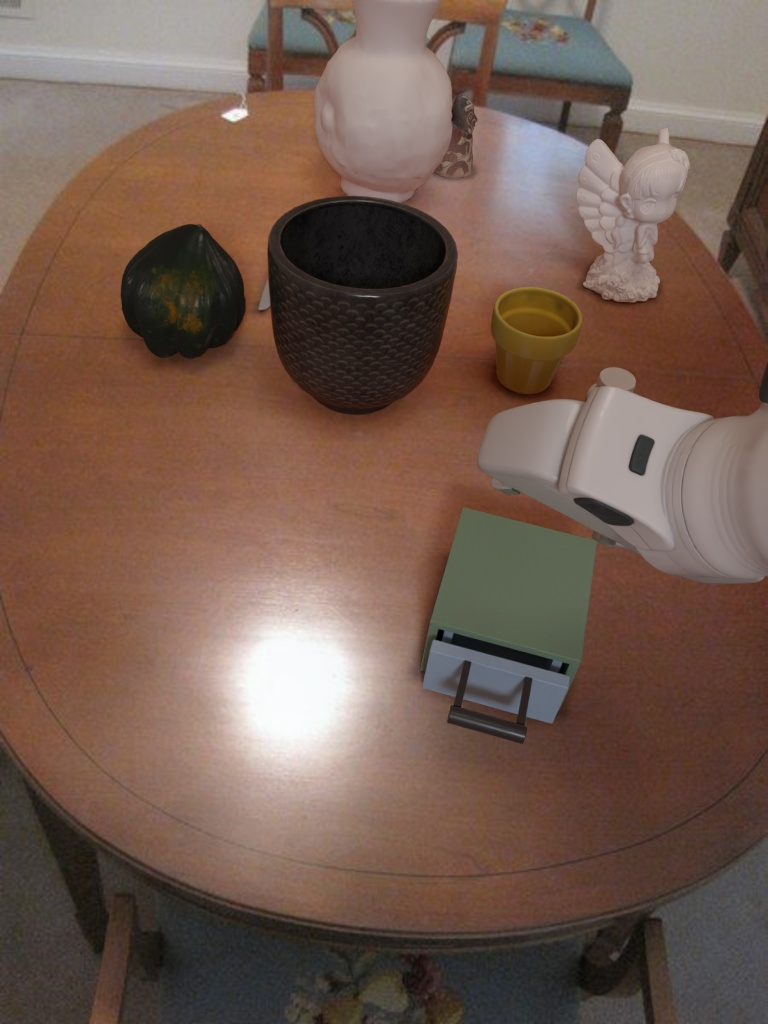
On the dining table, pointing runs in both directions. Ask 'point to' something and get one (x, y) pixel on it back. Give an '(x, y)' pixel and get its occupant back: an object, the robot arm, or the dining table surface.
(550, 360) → the flower pot
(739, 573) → the robot arm
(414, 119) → the vase
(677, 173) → the cherub figurine
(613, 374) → the pill bottle
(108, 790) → the dining table surface
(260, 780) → the dining table surface
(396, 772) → the dining table surface
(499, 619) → the green drawer cabinet
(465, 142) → the figurine
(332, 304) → the planter
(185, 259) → the squash
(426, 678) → the cabinet drawer
